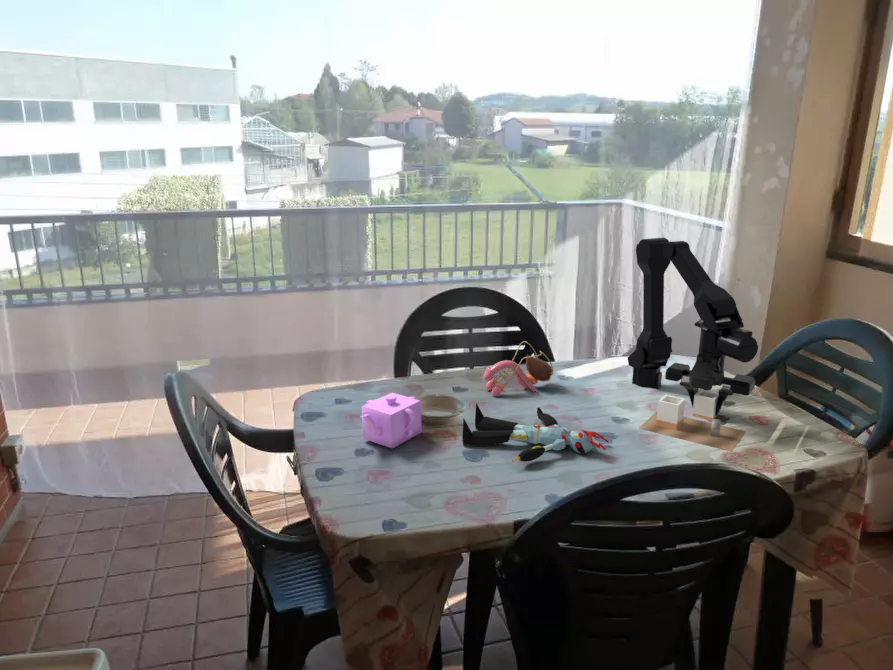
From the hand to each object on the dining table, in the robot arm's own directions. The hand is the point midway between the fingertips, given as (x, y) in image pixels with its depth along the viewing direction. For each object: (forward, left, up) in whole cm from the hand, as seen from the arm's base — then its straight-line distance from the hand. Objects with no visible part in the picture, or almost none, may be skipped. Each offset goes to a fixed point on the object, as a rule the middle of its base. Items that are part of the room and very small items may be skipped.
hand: (705, 412), depth 156 cm
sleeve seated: (-5, -10, -1) cm, 11 cm away
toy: (-26, -34, -2) cm, 43 cm away
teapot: (-54, -51, -2) cm, 74 cm away
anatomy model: (-46, -9, -2) cm, 47 cm away
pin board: (0, -10, -2) cm, 10 cm away
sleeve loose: (0, 0, -1) cm, 1 cm away
